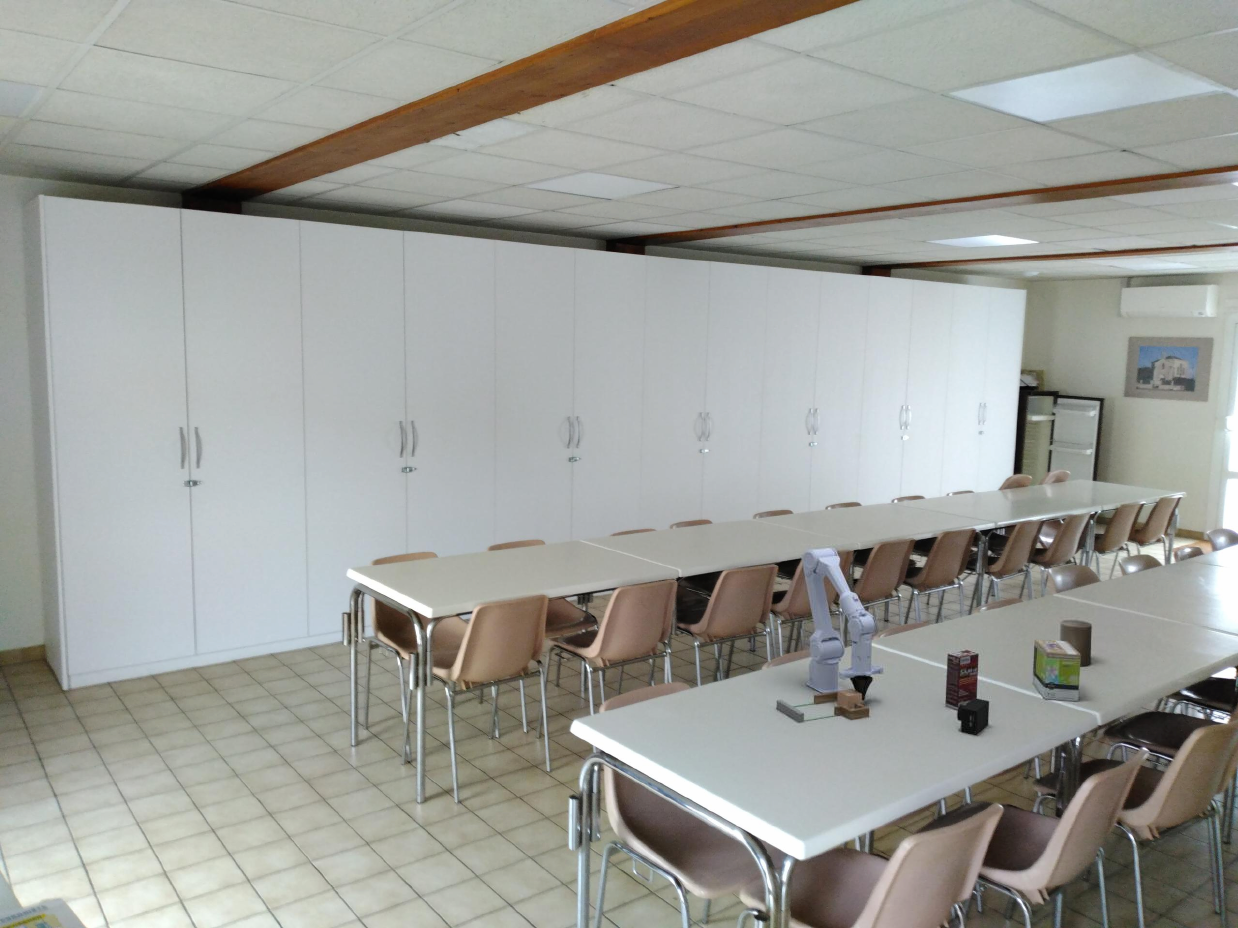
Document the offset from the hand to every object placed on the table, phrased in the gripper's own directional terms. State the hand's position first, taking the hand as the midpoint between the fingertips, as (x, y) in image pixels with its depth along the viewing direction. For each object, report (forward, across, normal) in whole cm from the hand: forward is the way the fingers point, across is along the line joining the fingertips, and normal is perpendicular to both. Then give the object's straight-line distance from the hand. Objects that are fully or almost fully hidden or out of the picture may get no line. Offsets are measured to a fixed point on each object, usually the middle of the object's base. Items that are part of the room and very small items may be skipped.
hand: (860, 699), depth 270 cm
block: (+1, -4, 0) cm, 4 cm away
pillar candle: (+2, +92, +5) cm, 93 cm away
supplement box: (+1, +26, -13) cm, 29 cm away
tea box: (+2, +61, -15) cm, 63 cm away
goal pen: (+1, -19, 0) cm, 19 cm away
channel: (+1, -8, -2) cm, 8 cm away
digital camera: (+2, +17, -28) cm, 32 cm away
